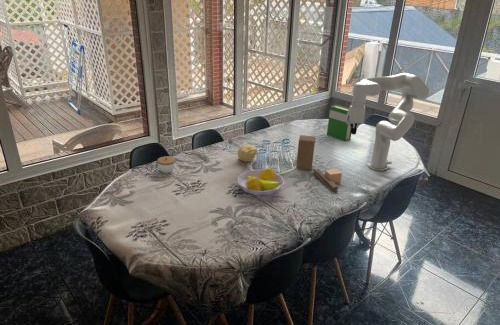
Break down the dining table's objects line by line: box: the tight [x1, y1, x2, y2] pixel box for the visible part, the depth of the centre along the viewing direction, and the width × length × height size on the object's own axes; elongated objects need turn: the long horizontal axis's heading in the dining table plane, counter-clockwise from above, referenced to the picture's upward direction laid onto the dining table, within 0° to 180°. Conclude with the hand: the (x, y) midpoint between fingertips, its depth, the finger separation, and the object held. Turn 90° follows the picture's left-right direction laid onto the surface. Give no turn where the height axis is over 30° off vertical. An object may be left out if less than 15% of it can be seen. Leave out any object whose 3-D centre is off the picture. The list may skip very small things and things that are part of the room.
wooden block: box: [295, 134, 316, 171], centre depth 235 cm, size 10×10×20 cm
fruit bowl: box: [237, 167, 285, 196], centre depth 206 cm, size 28×27×11 cm
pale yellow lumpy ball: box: [237, 144, 258, 163], centre depth 243 cm, size 12×12×11 cm
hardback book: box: [326, 104, 352, 142], centre depth 287 cm, size 18×7×24 cm, turn 43°
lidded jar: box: [156, 155, 176, 174], centre depth 223 cm, size 11×11×9 cm
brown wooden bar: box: [313, 168, 339, 193], centre depth 220 cm, size 3×24×3 cm, turn 18°
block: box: [324, 168, 343, 184], centre depth 222 cm, size 8×6×6 cm
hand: (353, 133), depth 221 cm, fingers closed
